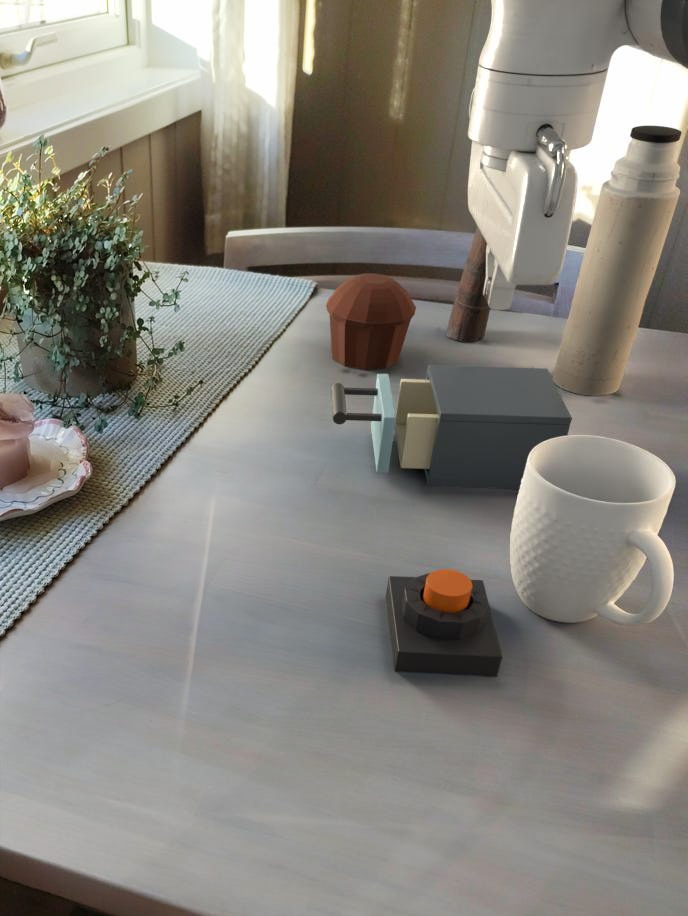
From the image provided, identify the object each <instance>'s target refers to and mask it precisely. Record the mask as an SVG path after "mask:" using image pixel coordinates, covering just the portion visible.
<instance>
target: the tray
mask: <svg viewBox="0 0 688 916" xmlns="http://www.w3.org/2000/svg"><path fill="white" fill-rule="evenodd" d="M330 392H331V409H332V421H333V423H334V424H336V425H343V424H345V423H346V421H358V422H370V432H371V439H372V447H373V455H374V456H373V457H374V463H375V470H376V473H377V474H389V469H390V463H391V455H392V449H393V442H394V435H395V441H396V447H397V454H398V459H399V466H400V468H401V469H416V470H417V469H419V470H425V469H430V463H431V457H432V452H433V446H434V440H435V435H436V429H437V423H438V418H439V416H438V412H437V408H436V404H435V400H434V396H433V392H432V388H431V384H430V381H429V380H426V379H419V378H418V379H417V378H415V379H414V378H401V379H400V382H399V391H398V396H397V404H396V409H395V403H394V399H393V392H392V387H391V382H390V376H389V374H388V373H377V374H376V380H375V387H373V388H371V387H345V386H344V384H343V383H340V382H335V383H333V385H332V386H331V389H330ZM346 395H347V396H372V397H373V396H374V399H373V405H372V413H368V412H367V413H365V412H347V404H346V402H347V401H346ZM395 410H396V411H395Z"/></svg>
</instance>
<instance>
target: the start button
mask: <svg viewBox="0 0 688 916" xmlns="http://www.w3.org/2000/svg"><path fill="white" fill-rule="evenodd" d="M429 573H430V574H429V575H428V576H427V579H426V584H425V589H424V594H423V599H424V602H425V603H426V604H427V606H429V607H430V608H432V609H435V610H438V611H440V612H447V613H458V612H461V611H463V610H465V609H466V608H467V606H468V604H469V600H470V596H471V591H472V587H473V585H472V582H471V580H472V579H471V578H470V577H469V576H467V575H466V574H464V573H463V572H460V571H458V570H454V569H447V568H445V569H444V568H443V569H437V570H433V571H432V572H429Z"/></svg>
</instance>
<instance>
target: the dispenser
mask: <svg viewBox="0 0 688 916" xmlns="http://www.w3.org/2000/svg"><path fill="white" fill-rule="evenodd" d="M425 375H426V376H425V380H429V381H430V384H431V388H432V392H433V396H434V400H435V404H436V408H437V412H438V416H439V418H438V423H437V429H436V435H435V440H434V446H433V452H432V457H431V463H430V469H424V473H425V478H426V483H427V486H429V487H430V486H431V487H452V488H453V487H455V488H456V487H457V488H478V489H479V488H482V489H508V490H509V489H510V490H520V485H521V480H522V478H523V475H524V471H525V467H526V463H527V459H528V456H529V454H530V452H531V450H532V449H533V448H534V447H535V446H537V445H538V444H540V443H542V442H544V441H546V440H549V439H552V438H556V437H561V436H568V434H569V431H570V427H571V423H572V419H573V417H572V414H571V413H570V410H569V409H568V407H567V405H566V403H565V400H564V399H563V397H562V394H561V393H560V391H559V389H558V386H557V384H556V383H555V382H554V381H553V376H551V373H550V371H549V369H548V368H541V367H514V366H513V367H511V366H510V367H509V366H477V365H476V366H475V365H443V364H438V365H437V364H428V365H427V370H426V374H425Z"/></svg>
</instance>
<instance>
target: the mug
mask: <svg viewBox="0 0 688 916" xmlns="http://www.w3.org/2000/svg"><path fill="white" fill-rule="evenodd" d="M676 483H677V481H676V476H675V474H674V472H673V470H672V469H671V468H670V467H669V466H668V464H667V463H666V462H665V461H664V460H662V459H661V458H659V457H658V456H656V455H655V454H653V453H651V452H650V451H648V450H646V449H644V448H641V447H639V446H636V445H635V444H632V443H629V442H625V441H622V440H619V439H614V438H611V437H605V436H600V435H588V434H572V435H571V434H570V435H567V436H561V437H556V438H552V439H549V440H546V441H544V442H542V443H540V444H538V445H537V446H535V447H534V448H533V449H532V450H531V452H530V454H529V456H528V459H527V463H526V467H525V471H524V475H523V478H522V480H521V485H520V489H518V494H517V495H516V496H517V499H516V502H515V506H514V512H513V517H512V522H511V529H510V530H511V531H510V534H509V535H510V537H509V541H510V544H509V554H510V555H509V563H510V572H511V577H512V582H513V584H514V588H515V590H516V593H517V595H518V597H519V598H520V600H521V601H522V603H523V604H524V605H525V607H527V608H528V609H529V610H530V611H531V612H533V613H534V614H536V615H538V616H540V617H542V618H543V619H546V620H549V621H553V622H558V623H566V624H575V623H582V622H587V621H589V620H592V619H594V618H595V617H597V616H600V617H601V618H604V619H606V620H608V621H609V622H612V623H614V624H615V625H616V624H617V625H620V626H624V627H639V626H643V625H646V624H649V623H651V622H653V621H655V620H656V619H657V618H658V617H660V615H661V614H662V613H663V612H664V611H665V609H666V607H667V605H668V603H669V601H670V599H671V597H672V592H673V588H674V578H675V577H674V564H673V560H672V557H671V554H670V551H669V549H668V548H667V546H666V544H665V542H664V541H663V540H662V539H661V538H660V536H659V532H660V530H661V529H662V525H663V522H664V519H665V517H666V515H667V513H668V508H669V505H670V502H671V500H672V498H673V494H674V491H675V488H676ZM646 560H647V562H648V563H649V564H648V565H649V568H650V572H651V588H650V593H649V598H648V601H647V603H646V605H645V607H644V608H643V609H642V610H641V611H640V612H639V613H630V612H626V611H624V610H623V609H622V608H620V607H618V606H617V605H616V604H615V603H616V601H618V600H619V598H621V597H622V595H624V593H625V592H626V590H628V588H629V587H630V586H631V584H632V583H633V581H635V579H636V578H637V575H639V572H640V571H641V570H642V568H643V566H645V562H646Z"/></svg>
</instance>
